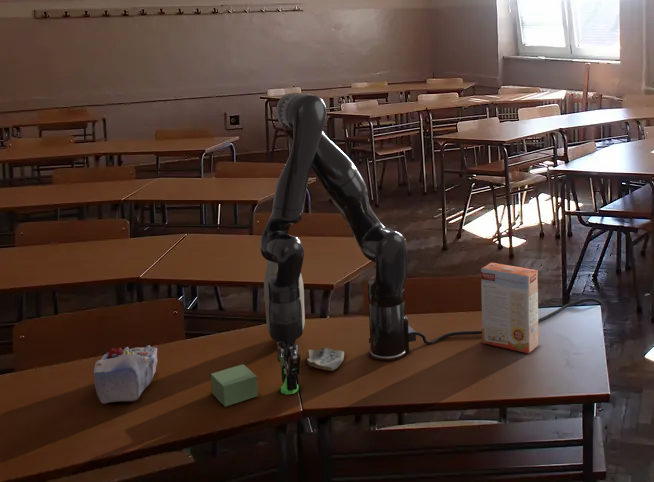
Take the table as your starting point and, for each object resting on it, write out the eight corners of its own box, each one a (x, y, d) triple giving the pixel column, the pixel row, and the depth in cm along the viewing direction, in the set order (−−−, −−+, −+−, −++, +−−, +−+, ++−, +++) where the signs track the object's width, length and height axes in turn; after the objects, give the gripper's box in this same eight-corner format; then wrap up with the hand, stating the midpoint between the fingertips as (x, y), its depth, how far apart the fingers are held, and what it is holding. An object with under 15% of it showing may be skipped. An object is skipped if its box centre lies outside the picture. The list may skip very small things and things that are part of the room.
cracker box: (539, 346, 217) (538, 269, 213) (528, 354, 212) (528, 276, 208) (492, 335, 224) (491, 260, 221) (481, 343, 219) (480, 267, 216)
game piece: (301, 391, 195) (300, 367, 194) (284, 396, 193) (282, 372, 192) (295, 384, 199) (293, 360, 198) (278, 388, 197) (276, 365, 196)
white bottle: (272, 332, 229) (266, 235, 224) (309, 332, 229) (304, 234, 224) (263, 348, 219) (256, 246, 215) (301, 348, 219) (295, 245, 214)
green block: (244, 383, 200) (243, 364, 199) (258, 396, 193) (256, 376, 193) (212, 393, 195) (210, 373, 194) (225, 406, 189) (223, 386, 188)
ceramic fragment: (309, 346, 216) (345, 343, 214) (311, 358, 216) (348, 355, 214) (294, 365, 205) (332, 362, 203) (296, 376, 206) (334, 374, 204)
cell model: (87, 367, 186) (101, 333, 205) (91, 412, 188) (105, 374, 207) (148, 358, 189) (156, 326, 208) (152, 403, 191) (160, 367, 210)
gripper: (310, 324, 188) (313, 394, 191) (292, 303, 201) (296, 370, 204) (277, 330, 185) (281, 402, 188) (262, 309, 198) (266, 377, 200)
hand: (289, 385), depth 196 cm, fingers open, 3 cm apart
